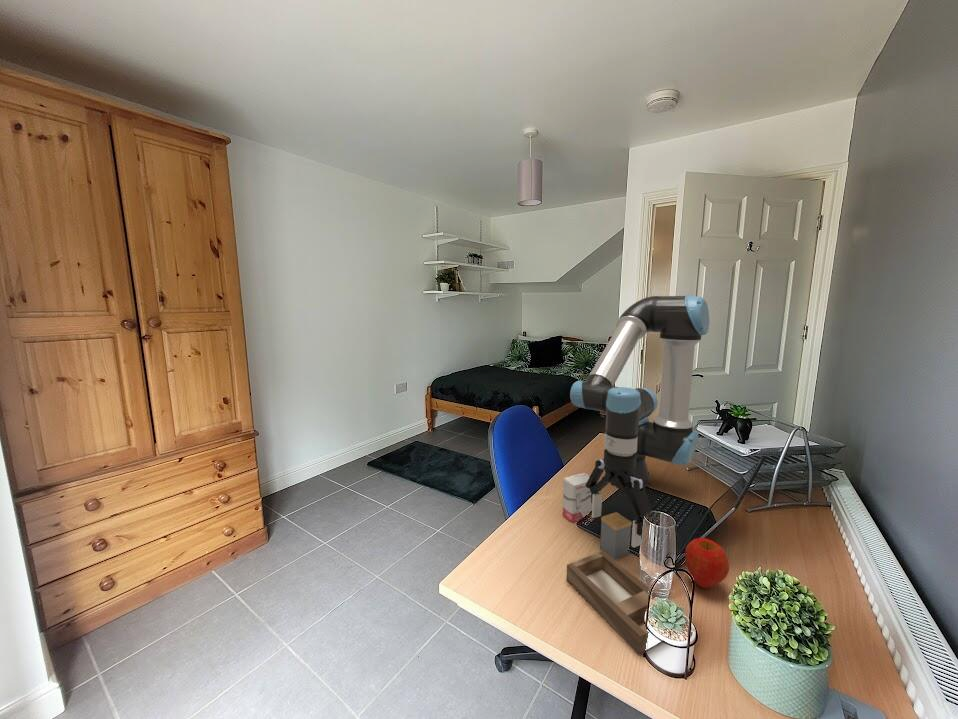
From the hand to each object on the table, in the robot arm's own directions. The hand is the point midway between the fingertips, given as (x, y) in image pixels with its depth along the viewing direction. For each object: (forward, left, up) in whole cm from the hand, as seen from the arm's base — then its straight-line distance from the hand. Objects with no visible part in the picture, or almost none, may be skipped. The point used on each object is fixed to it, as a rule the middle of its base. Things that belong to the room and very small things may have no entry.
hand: (615, 530), depth 97 cm
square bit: (0, 0, -6) cm, 6 cm away
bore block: (+12, +13, -6) cm, 18 cm away
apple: (-10, +18, -7) cm, 21 cm away
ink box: (-3, -17, -7) cm, 19 cm away
